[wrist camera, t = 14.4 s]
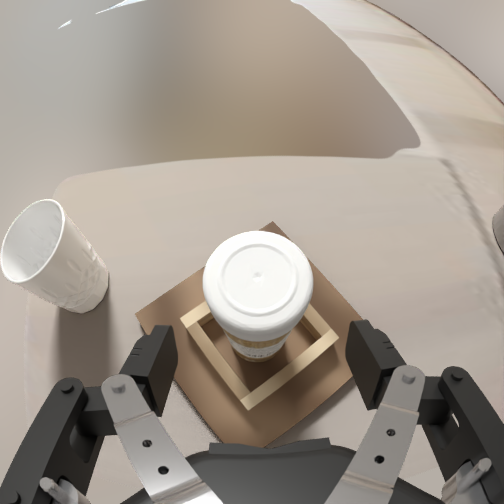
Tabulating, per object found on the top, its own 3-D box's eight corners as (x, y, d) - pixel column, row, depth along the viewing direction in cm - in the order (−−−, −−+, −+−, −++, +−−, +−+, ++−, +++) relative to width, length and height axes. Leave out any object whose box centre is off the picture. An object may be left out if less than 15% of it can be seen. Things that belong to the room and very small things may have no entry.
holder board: (272, 227, 29) (273, 209, 27) (379, 346, 24) (393, 340, 21) (139, 317, 25) (126, 307, 22) (241, 459, 19) (239, 468, 16)
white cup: (92, 238, 29) (47, 185, 20) (127, 282, 27) (78, 231, 18) (48, 284, 26) (-7, 243, 18) (78, 334, 24) (13, 303, 15)
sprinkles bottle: (286, 314, 24) (317, 233, 12) (280, 366, 22) (312, 339, 10) (233, 308, 24) (212, 221, 12) (224, 359, 22) (189, 323, 10)
